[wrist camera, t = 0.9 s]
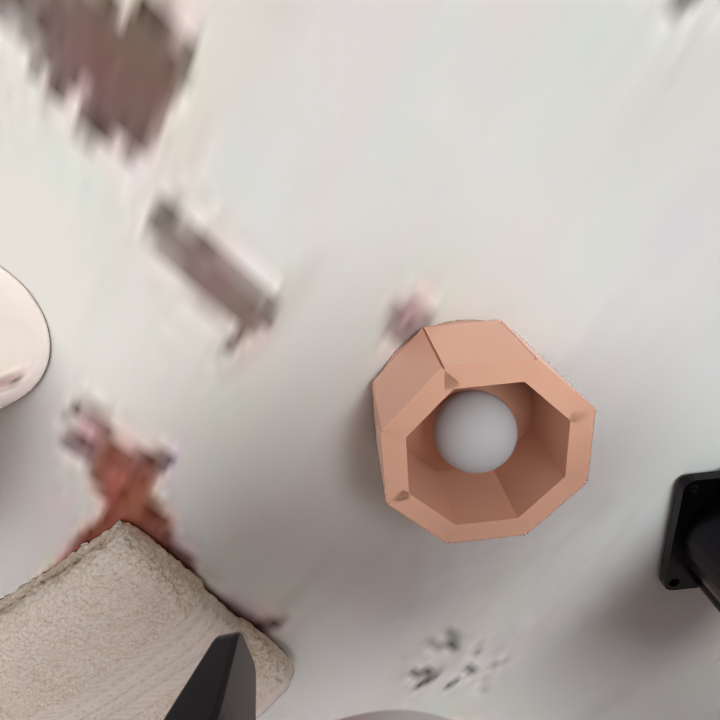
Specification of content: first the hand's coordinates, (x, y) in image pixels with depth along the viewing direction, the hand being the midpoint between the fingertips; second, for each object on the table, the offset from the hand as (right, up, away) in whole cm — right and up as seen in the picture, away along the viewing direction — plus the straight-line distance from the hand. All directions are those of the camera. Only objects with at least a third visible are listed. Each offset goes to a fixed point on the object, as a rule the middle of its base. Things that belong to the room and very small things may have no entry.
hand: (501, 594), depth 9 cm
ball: (+2, +1, +10) cm, 10 cm away
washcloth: (-16, -11, +17) cm, 26 cm away
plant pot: (+2, +2, +12) cm, 12 cm away
